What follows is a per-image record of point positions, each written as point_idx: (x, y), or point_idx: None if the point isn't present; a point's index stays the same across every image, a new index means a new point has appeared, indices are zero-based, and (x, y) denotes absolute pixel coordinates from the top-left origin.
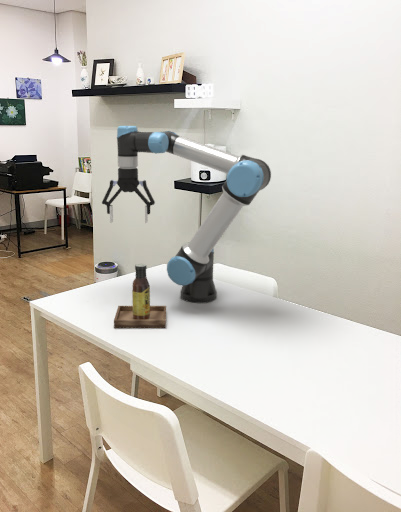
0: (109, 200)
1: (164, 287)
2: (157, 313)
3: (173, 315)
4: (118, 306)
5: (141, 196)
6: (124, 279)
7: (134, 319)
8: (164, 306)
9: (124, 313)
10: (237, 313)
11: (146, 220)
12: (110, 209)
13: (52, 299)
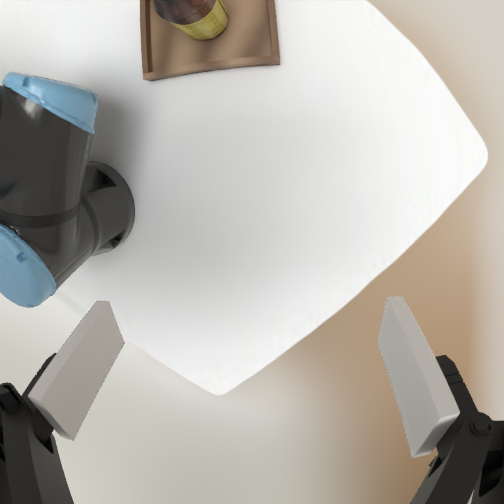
0: (479, 472)
1: (186, 266)
2: (168, 54)
3: (133, 71)
4: (278, 55)
5: (25, 502)
6: (301, 318)
7: None
8: (147, 73)
9: (258, 42)
10: None
11: (90, 312)
12: (440, 384)
13: (460, 170)
